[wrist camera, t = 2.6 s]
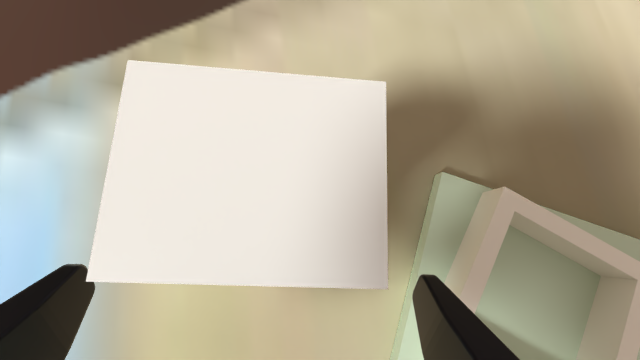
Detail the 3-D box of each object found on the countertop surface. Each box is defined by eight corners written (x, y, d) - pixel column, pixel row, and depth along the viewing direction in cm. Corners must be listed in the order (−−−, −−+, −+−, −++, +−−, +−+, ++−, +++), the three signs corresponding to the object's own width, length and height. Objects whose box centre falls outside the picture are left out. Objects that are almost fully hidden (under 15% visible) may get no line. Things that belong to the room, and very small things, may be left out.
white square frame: (573, 429, 16) (612, 455, 14) (419, 341, 17) (436, 353, 15) (620, 269, 18) (658, 272, 17) (482, 192, 19) (504, 186, 17)
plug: (319, 257, 18) (387, 289, 5) (233, 254, 18) (85, 281, 5) (322, 178, 19) (385, 47, 6) (241, 173, 19) (135, 23, 6)
